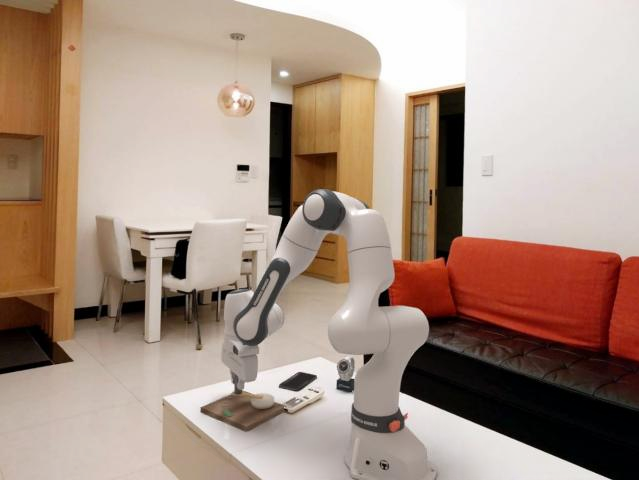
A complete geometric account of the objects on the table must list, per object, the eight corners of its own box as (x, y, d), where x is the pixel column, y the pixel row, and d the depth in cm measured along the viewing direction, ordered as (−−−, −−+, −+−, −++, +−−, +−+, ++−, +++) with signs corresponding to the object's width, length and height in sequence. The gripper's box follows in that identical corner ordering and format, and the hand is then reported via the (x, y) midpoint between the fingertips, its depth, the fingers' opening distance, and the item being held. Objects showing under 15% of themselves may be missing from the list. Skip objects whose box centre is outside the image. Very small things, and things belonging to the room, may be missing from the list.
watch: (333, 391, 165) (334, 359, 164) (344, 383, 172) (345, 352, 171) (348, 394, 162) (349, 362, 161) (358, 386, 169) (360, 355, 168)
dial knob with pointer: (277, 400, 151) (277, 374, 151) (269, 410, 145) (269, 382, 144) (236, 395, 155) (237, 369, 154) (227, 404, 148) (227, 377, 147)
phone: (277, 385, 166) (299, 371, 180) (277, 388, 166) (299, 374, 180) (298, 390, 163) (318, 375, 176) (298, 393, 163) (318, 378, 176)
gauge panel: (286, 410, 149) (286, 405, 149) (246, 431, 135) (246, 425, 135) (241, 394, 160) (241, 389, 160) (200, 412, 146) (200, 406, 146)
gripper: (216, 334, 155) (216, 376, 157) (241, 353, 138) (240, 400, 139) (235, 331, 159) (234, 373, 160) (261, 350, 141) (261, 396, 143)
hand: (237, 386), depth 150 cm, fingers open, 3 cm apart
